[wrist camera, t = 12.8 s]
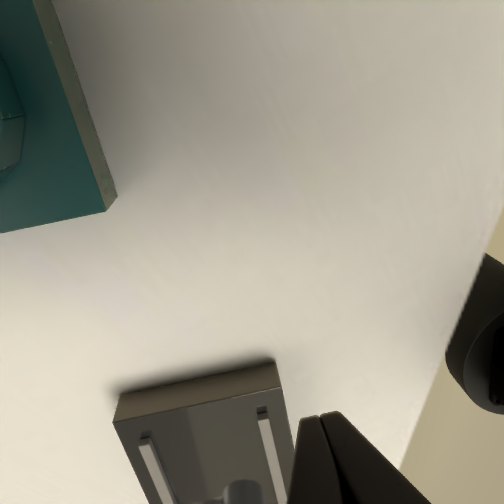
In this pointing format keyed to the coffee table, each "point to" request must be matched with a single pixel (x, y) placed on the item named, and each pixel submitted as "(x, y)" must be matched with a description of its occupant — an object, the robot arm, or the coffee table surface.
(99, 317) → the coffee table surface
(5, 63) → the button block
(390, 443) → the coffee table surface
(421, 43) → the coffee table surface
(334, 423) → the robot arm
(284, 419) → the slide rail base
